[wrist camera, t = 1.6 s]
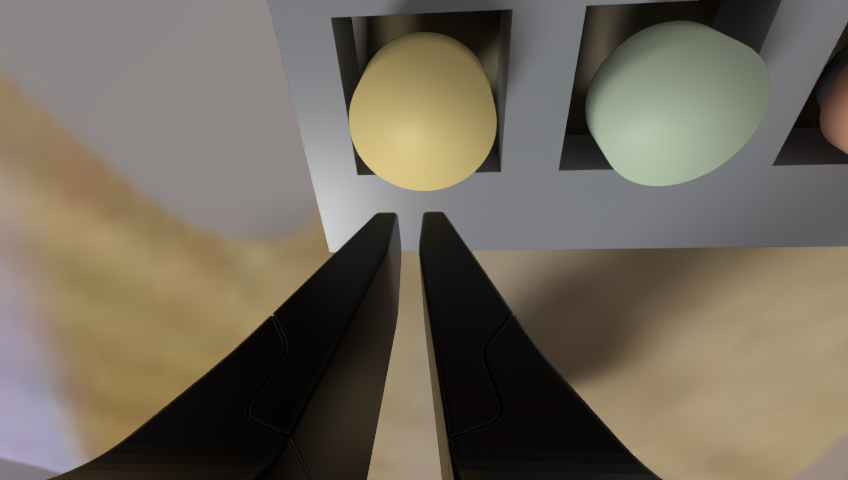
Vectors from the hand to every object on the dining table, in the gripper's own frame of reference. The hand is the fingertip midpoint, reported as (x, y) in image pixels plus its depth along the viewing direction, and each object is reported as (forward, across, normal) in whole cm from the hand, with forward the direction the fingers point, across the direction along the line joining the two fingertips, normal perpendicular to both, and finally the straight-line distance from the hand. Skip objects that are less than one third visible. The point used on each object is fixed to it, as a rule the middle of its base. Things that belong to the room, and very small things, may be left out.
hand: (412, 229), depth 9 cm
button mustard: (+8, 0, 0) cm, 8 cm away
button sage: (+8, -8, 0) cm, 11 cm away
